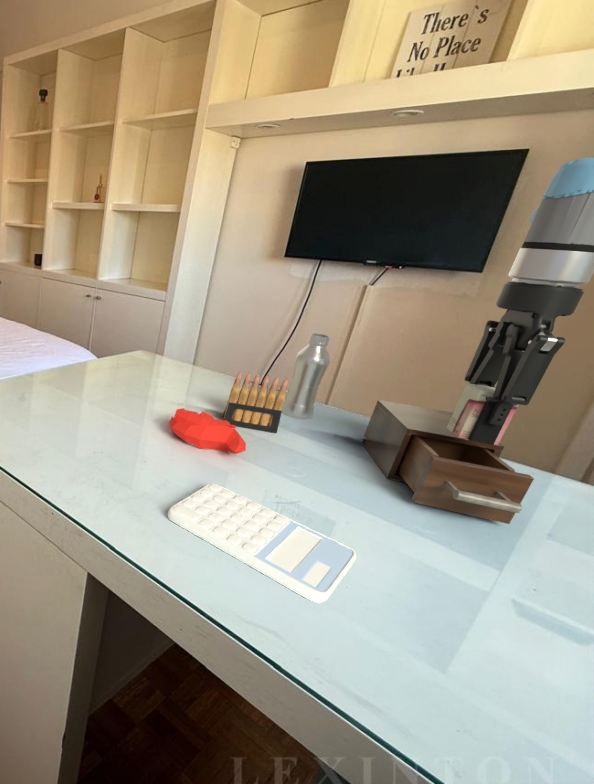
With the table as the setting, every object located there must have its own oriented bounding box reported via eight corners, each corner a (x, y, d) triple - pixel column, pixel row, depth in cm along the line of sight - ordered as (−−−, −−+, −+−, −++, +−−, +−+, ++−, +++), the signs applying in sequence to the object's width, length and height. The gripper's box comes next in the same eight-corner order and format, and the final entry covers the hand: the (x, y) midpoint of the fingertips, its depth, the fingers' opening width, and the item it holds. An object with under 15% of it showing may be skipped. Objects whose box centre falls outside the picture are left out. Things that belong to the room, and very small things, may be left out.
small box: (456, 437, 70) (479, 390, 67) (445, 427, 74) (466, 382, 71) (499, 446, 68) (524, 397, 65) (485, 435, 72) (508, 389, 69)
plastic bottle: (312, 421, 104) (340, 336, 97) (306, 429, 99) (335, 340, 92) (281, 412, 108) (306, 330, 101) (273, 420, 103) (299, 334, 96)
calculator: (209, 489, 73) (212, 479, 72) (356, 561, 59) (361, 549, 58) (163, 518, 64) (166, 507, 64) (321, 609, 50) (327, 596, 50)
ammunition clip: (222, 423, 99) (236, 371, 95) (221, 420, 101) (234, 369, 96) (276, 433, 96) (293, 380, 92) (274, 429, 98) (290, 377, 94)
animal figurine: (233, 468, 80) (240, 442, 78) (159, 436, 90) (164, 413, 89) (260, 451, 87) (267, 427, 86) (188, 423, 98) (193, 401, 96)
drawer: (527, 542, 64) (555, 494, 61) (426, 517, 68) (447, 471, 65) (462, 479, 80) (481, 439, 78) (383, 462, 84) (399, 424, 82)
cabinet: (478, 498, 76) (504, 446, 73) (386, 478, 81) (407, 428, 77) (437, 458, 90) (457, 413, 87) (360, 443, 94) (377, 399, 91)
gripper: (634, 293, 54) (539, 466, 62) (540, 281, 69) (474, 421, 77) (550, 285, 56) (469, 452, 64) (477, 275, 71) (420, 411, 80)
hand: (472, 435), depth 71 cm, fingers closed on small box, 4 cm apart
